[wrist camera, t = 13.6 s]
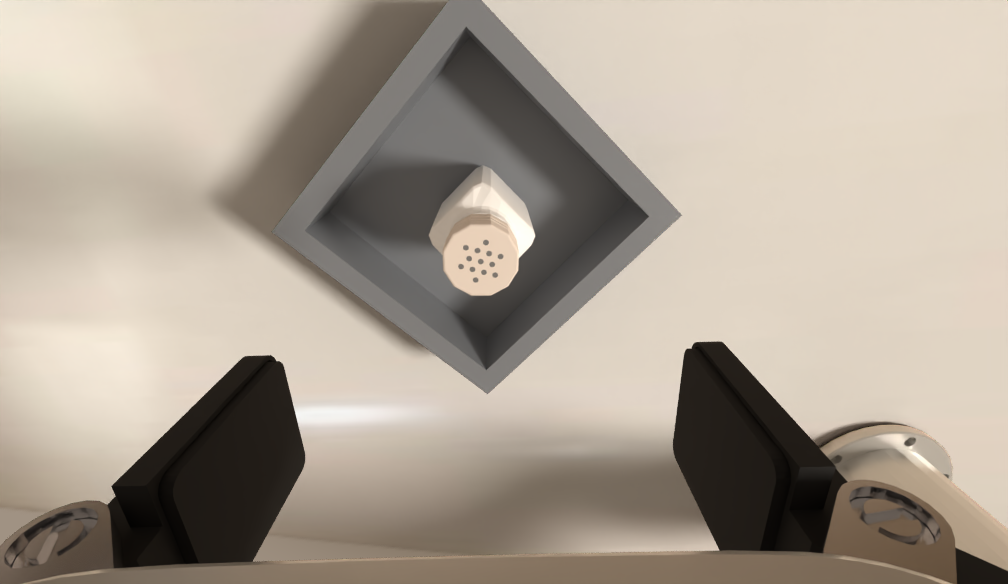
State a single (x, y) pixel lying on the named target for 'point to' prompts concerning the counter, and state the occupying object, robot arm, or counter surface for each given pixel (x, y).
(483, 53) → the bin
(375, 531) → the counter surface
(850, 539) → the robot arm
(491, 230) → the pepper shaker
